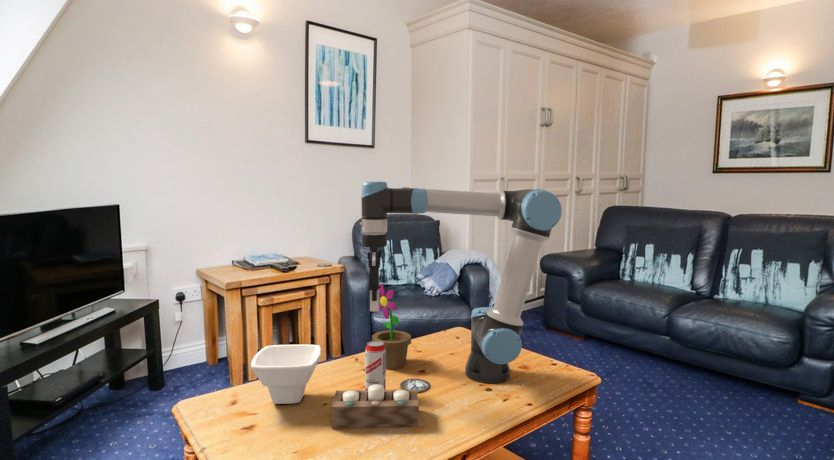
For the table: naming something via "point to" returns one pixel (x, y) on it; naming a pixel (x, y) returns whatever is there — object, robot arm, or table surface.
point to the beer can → (375, 364)
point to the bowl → (286, 370)
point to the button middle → (376, 392)
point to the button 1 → (351, 396)
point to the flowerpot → (392, 334)
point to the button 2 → (401, 395)
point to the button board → (375, 411)
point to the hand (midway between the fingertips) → (374, 310)
